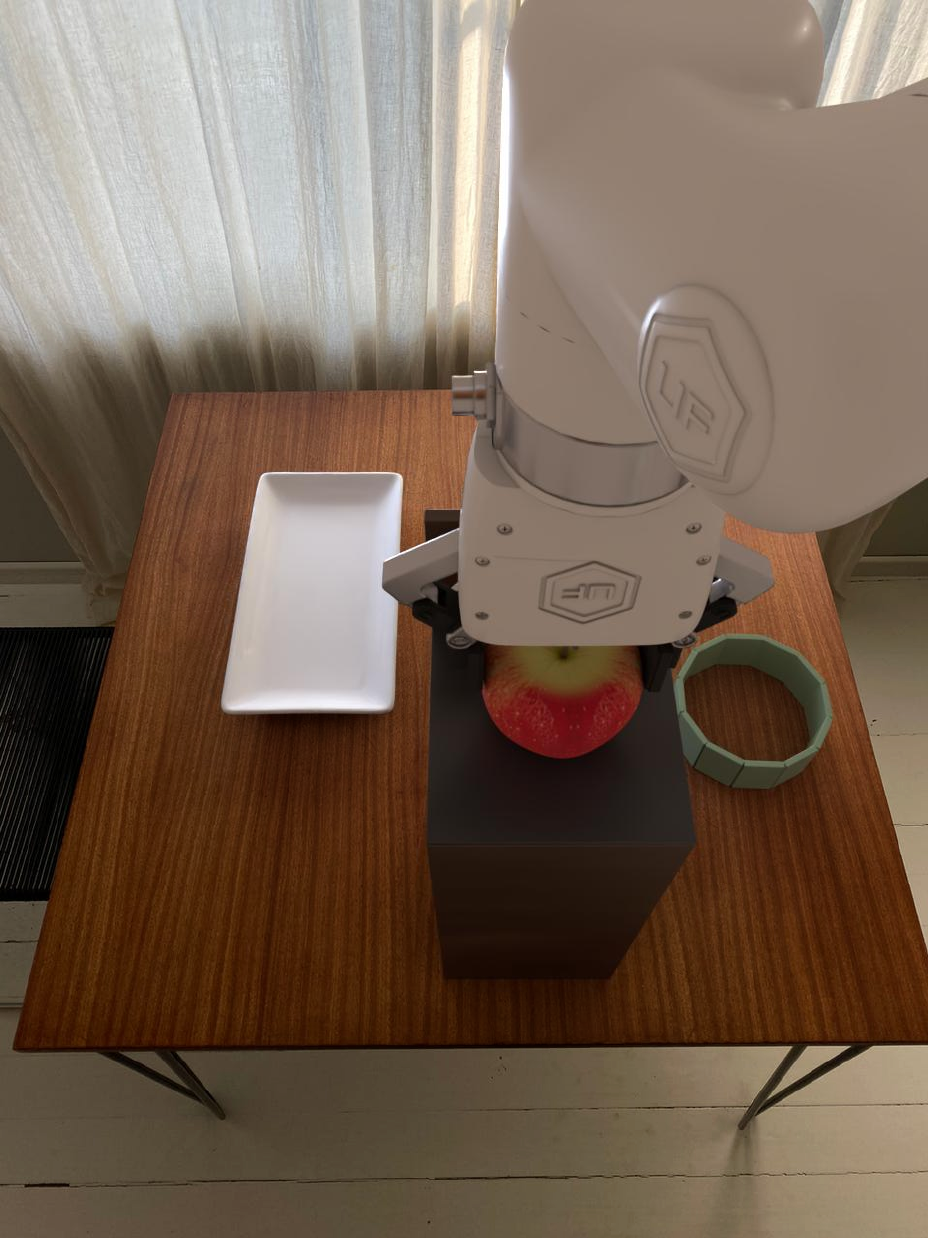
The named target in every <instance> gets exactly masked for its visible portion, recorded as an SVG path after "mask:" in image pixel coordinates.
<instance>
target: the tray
mask: <svg viewBox="0 0 928 1238" xmlns="http://www.w3.org/2000/svg"><path fill="white" fill-rule="evenodd" d="M403 491H404V478H403V476H402V475H401V474H400V473H397V472H387V471H386V472H384V471H383V472H382V471H381V472H380V471H378V472H377V471H376V472H373V471H370V472H369V471H367V472H365V471H363V472H361V471H360V472H359V471H358V472H357V471H356V472H328V471H327V472H321V471H319V472H301V471H300V472H299V471H297V472H295V471H294V472H292V471H291V472H289V471H284V472H282V471H281V472H280V471H279V472H277V471H276V472H275V471H274V472H265V473H263V474H262V475H260V477H259V480H258V484H257V487H256V492H255V497H254V502H253V507H252V513H251V518H250V524H249V530H248V536H247V542H246V548H245V552H244V553H245V554H244V559H243V565H242V571H241V576H240V583H239V589H238V595H237V601H236V608H235V614H234V621H233V627H232V634H231V640H230V644H229V645H230V646H229V652H228V658H227V665H226V668H225V669H226V670H225V676H224V682H223V688H222V694H221V699H220V708H221V711H222V712H223V713H225V714H227V715H281V714H283V715H284V714H285V715H286V714H287V715H288V714H350V715H352V714H354V715H355V714H358V715H359V714H360V715H362V714H363V715H381V714H382V715H383V714H389V713H390V712H391V711H393V709H394V706H395V700H396V699H395V697H396V676H397V675H396V674H397V673H396V672H397V671H396V669H397V642H398V621H399V620H398V618H399V602H398V601H397V600H396V599H395V598H393V597H392V596H391V595H389V594H388V593H387V592H386V591H384V590H383V588H382V574H383V563H384V561H385V560H386V559H388V558H391V557H393V556H395V555H398V554H400V553H401V535H402V534H401V531H402V530H401V529H402V509H403V494H404V493H403Z"/></svg>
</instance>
